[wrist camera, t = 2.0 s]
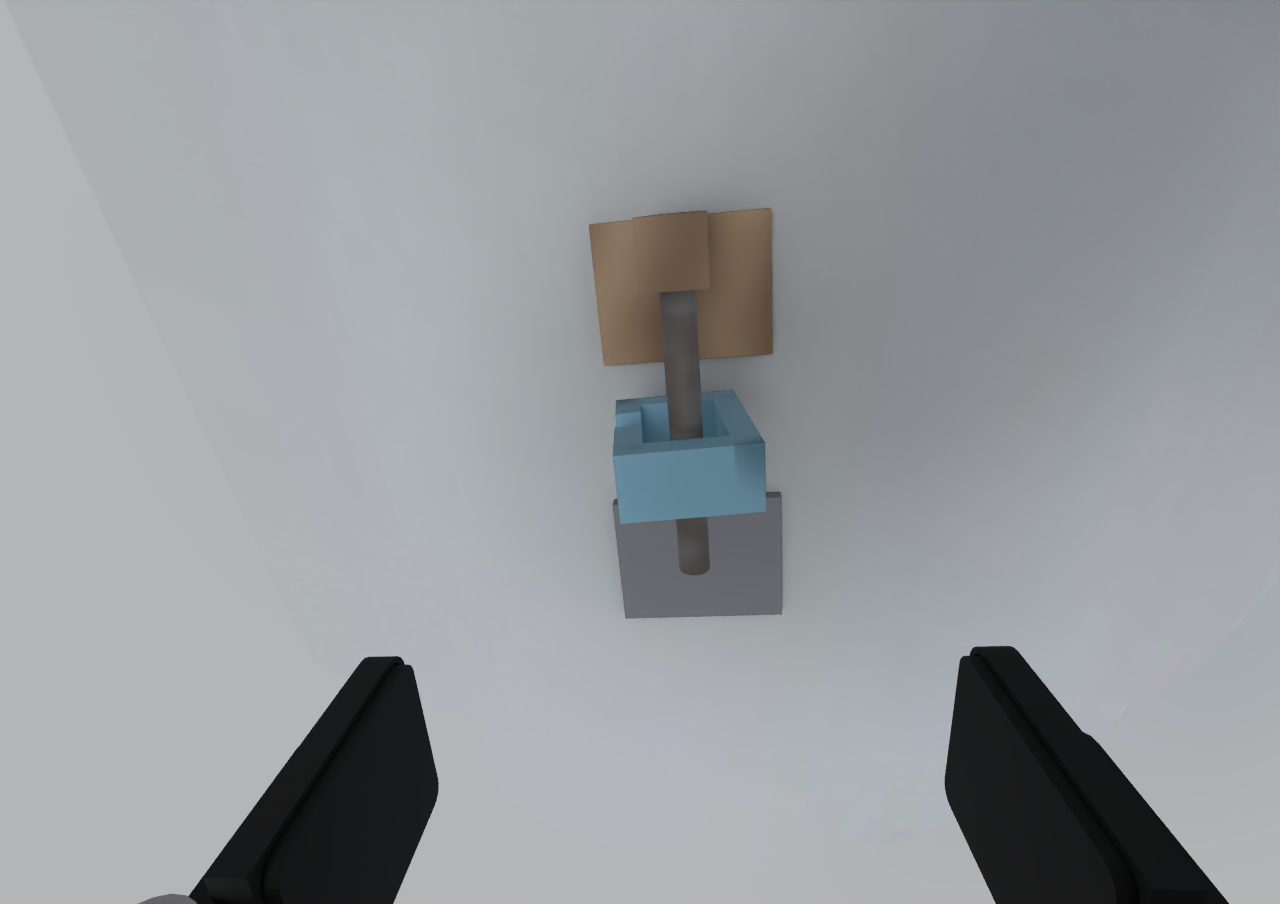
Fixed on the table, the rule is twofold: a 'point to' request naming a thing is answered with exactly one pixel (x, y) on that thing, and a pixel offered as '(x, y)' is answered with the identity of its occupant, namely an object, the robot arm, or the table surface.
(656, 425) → the link
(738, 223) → the stand
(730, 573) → the mat
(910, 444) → the table surface
